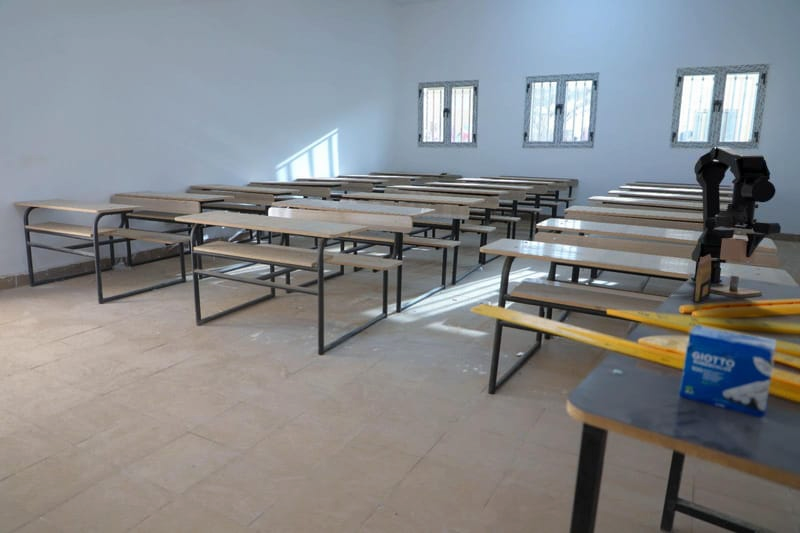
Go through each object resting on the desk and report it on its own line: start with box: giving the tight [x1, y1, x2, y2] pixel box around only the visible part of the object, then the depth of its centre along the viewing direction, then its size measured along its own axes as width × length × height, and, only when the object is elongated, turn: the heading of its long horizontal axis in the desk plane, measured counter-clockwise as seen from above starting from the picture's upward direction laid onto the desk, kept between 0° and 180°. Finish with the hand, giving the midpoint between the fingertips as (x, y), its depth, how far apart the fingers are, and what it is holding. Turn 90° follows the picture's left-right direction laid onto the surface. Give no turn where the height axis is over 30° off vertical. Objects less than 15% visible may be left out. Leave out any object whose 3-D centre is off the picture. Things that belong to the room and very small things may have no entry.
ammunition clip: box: [692, 254, 712, 304], centre depth 148 cm, size 11×2×12 cm, turn 139°
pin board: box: [710, 275, 763, 299], centre depth 157 cm, size 10×10×5 cm
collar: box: [720, 237, 757, 263], centre depth 155 cm, size 6×6×6 cm
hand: (737, 255), depth 155 cm, fingers closed on collar, 6 cm apart
